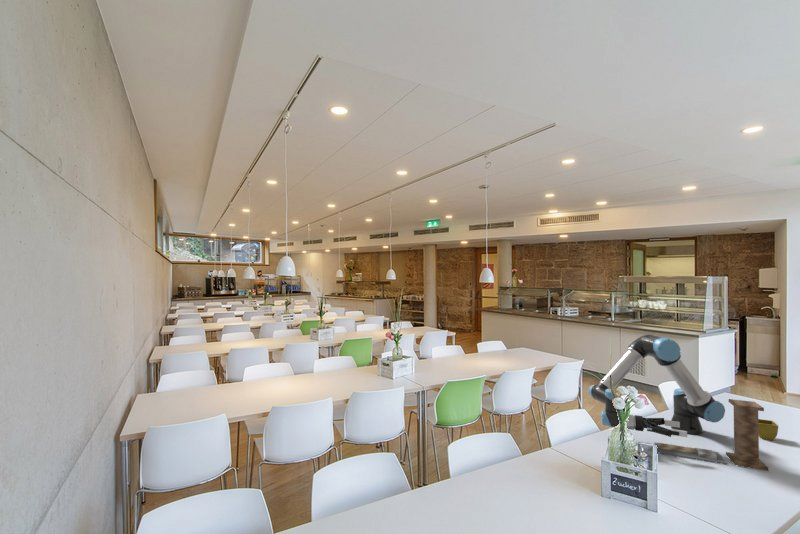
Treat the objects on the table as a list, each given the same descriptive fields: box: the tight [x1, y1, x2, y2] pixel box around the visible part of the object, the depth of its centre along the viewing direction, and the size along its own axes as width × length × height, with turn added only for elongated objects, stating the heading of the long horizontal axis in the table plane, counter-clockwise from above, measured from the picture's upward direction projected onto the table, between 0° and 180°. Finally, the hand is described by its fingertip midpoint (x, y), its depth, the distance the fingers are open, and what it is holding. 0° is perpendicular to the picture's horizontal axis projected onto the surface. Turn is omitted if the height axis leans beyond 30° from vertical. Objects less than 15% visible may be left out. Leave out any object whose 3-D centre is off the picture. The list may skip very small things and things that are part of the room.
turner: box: [657, 442, 717, 459], centre depth 194 cm, size 23×7×2 cm, turn 66°
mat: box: [654, 441, 728, 465], centre depth 194 cm, size 27×13×1 cm, turn 66°
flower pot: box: [758, 418, 779, 441], centre depth 214 cm, size 9×9×9 cm
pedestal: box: [725, 398, 769, 472], centre depth 185 cm, size 12×12×28 cm
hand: (683, 429), depth 195 cm, fingers open, 13 cm apart
